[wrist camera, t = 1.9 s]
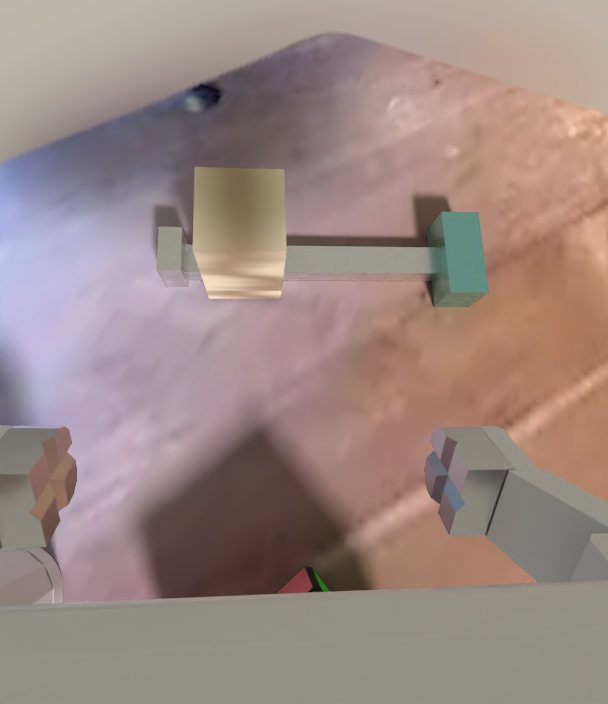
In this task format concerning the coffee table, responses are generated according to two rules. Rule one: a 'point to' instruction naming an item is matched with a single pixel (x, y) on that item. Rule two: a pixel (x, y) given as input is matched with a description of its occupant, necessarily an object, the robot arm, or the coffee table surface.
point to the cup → (29, 577)
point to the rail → (367, 261)
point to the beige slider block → (240, 231)
